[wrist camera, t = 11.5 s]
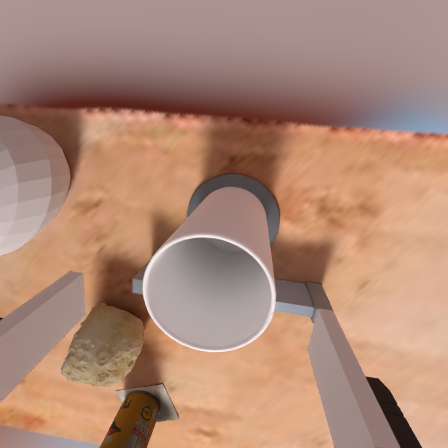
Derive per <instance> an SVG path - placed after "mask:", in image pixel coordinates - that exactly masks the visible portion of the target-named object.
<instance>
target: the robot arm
mask: <svg viewBox="0 0 448 448" xmlns="http://www.w3.org/2000/svg"><path fill="white" fill-rule="evenodd" d="M85 314H86V312H85V296H84V281H83V273H78V272H71V271H70V272H68V273H67V274H66V275H64V276H63V277H61V278H60V279H58V280H57V281H56V282H54V283H53V284H51V285H50V286H49V287H47V288H46V289H44V290H43V291H42V292H40V293H39V294H37V295H36V296H34V297H33V298H32V299H30V300H29V301H27V302H26V303H25V304H23V305H22V306H20V307H19V308H17V309H16V310H15V311H13V312H12V313H10V314H9V315H8V316H6V317H5V318H0V402H1V401H2V400H3V399H4V398H5V397H6V396H7V395H8V394H9V393H10V392H11V391H12V390H13V389H14V388H15V387H16V386H17V385H18V384H19V383H20V382H21V381H22V380H23V379H24V378H25V377H26V376H27V375H28V373H29V372H30V371H31V370H32V369H33V368H34V367H35V366H36V365H37V364H38V363H39V362H40V361H41V360H42V359H43V358H44V357H45V356H46V355H47V354H48V353H49V352H50V351H51V350H52V349H53V348H54V347H55V346H56V345H57V343H58V342H59V341H60V340H61V339H62V338H63V337H64V336H65V335H66V334H67V333H68V332H69V331H70V330H71V329H72V328H73V327H74V326H75V325H76V324H77V323H78V322H79V321H80V320H81V319H82V318H83V317H84V316H85ZM308 353H309V357H310V360H311V364H312V368H313V371H314V375H315V378H316V382H317V386H318V389H319V393H320V396H321V400H322V404H323V407H324V411H325V414H326V418H327V422H328V425H329V429H330V432H331V436H332V440H333V443H334V447H335V448H422V447H421V445H420V443H419V441H418V440H417V438H416V436H415V434H414V433H413V431H412V429H411V427H410V426H409V424H408V422H407V420H406V418H404V416H403V413H402V411H401V410H400V408H399V407H398V406H397V403H396V401H395V399H394V397H393V395H392V394H391V392H390V390H389V389H388V388H387V387H386V386H385V385H384V384H383V383H382V382H381V381H380V380H379V379H378V378H372V377H365V375H364V373H363V371H362V369H361V367H360V365H359V363H358V361H357V359H356V357H355V355H354V353H353V351H352V349H351V347H350V345H349V343H348V341H347V339H346V337H345V335H344V333H343V330H342V328H341V326H340V324H339V322H338V320H337V318H336V316H335V314H334V312H333V311H332V310H325V309H319V308H318V311H317V315H316V319H315V323H314V326H313V330H312V334H311V338H310V342H309V346H308Z"/></svg>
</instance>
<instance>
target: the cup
mask: <svg viewBox="0 0 448 448" xmlns="http://www.w3.org/2000/svg"><path fill="white" fill-rule="evenodd" d="M143 297H144V301H145V305H146V308H147V310H148V312H149V314H150V316H151V317H152V319H153V320H154V322H155V323H156V324H157V326H158V327H159V328H160V329H161V330H162V331H163V332H164V333H165V334H167V335H168V336H169V337H171V338H172V339H173V340H175V341H177V342H178V343H180V344H182V345H185V346H187V347H190V348H193V349H196V350H200V351H207V352H224V351H230V350H234V349H238V348H240V347H243V346H245V345H247V344H249V343H250V342H252V341H254V340H255V339H256V338H257V337H259V336H260V335H261V334H262V333H263V331H264V330H265V329H266V328H267V326H268V325H269V323H270V321H271V319H272V316H273V313H274V310H275V304H276V288H275V280H274V272H273V264H272V256H271V249H270V241H269V233H268V226H267V218H266V213H265V210H264V207H263V205H262V204H261V202H260V201H259V199H258V198H257V197H256V196H255V195H253V194H252V193H251V192H249V191H247V190H245V189H242V188H238V187H224V188H220V189H218V190H215V191H214V192H212V193H211V194H209V195H208V196H207V197H206V198H205V199H204V200H203V201H202V202H201V204H200V205H199V206H198V207H197V208H196V209H195V210H194V211H193V212H192V213H191V214H190V216H189V217H188V218H187V219H186V220H185V221H184V222H183V223H182V224H181V225H180V226H179V227H178V229H177V230H176V231H175V232H174V233H173V234H172V235H171V236H170V237H169V238H168V239H167V241H166V242H165V243H164V244H163V245H162V246H161V247H160V248H159V249H158V250H157V252H156V253H155V254H154V256H153V257H152V259H151V260H150V262H149V264H148V266H147V268H146V271H145V274H144V278H143Z"/></svg>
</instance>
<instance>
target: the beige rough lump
mask: <svg viewBox="0 0 448 448" xmlns="http://www.w3.org/2000/svg"><path fill="white" fill-rule="evenodd" d="M81 325H82V326H81V328H80V329H79V330H78V331H77V332H76V333H75V334H74V337H73V340H72V342H71V345H70V348H69V351H68V356H67V357H66V358H65V361H64V363H63V366H62V368H61V370H62V372H61V373H62V375H64V376H65V377H66V378H67V379H68V380H70V381H72V382H80V383H87V384H91V385H93V386H104V387H110V386H111V385H113V384H115V383H118V382H119V381H120V380H123V379H124V377H125V376H127V374H128V373H129V372H131V370H132V369H133V367H134V365H135V362H136V360H137V357H138V355H139V354H140V353H141V350H142V346H143V341H144V339H143V336H144V327H143V322H142V320H141V319H139V318H137V317H135V316H134V315H132V314H130V313H129V312H127V311H124V310H121V309H118V308H115V307H112V306H107V305H106V304H105V303H103V302H100V303H98V304H97V305H96V306H95V307H94V308H93V309H92V310H91V312H90V313H89V315H88V316H87V318H86V320H84V321H83V322H82V323H81Z"/></svg>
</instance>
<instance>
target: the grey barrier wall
mask: <svg viewBox="0 0 448 448" xmlns="http://www.w3.org/2000/svg"><path fill="white" fill-rule="evenodd" d="M151 259H152V258H151ZM151 259H150V260H151ZM150 260H149V261H148V262H147V264H146V265H145V266H144V267H143V268H142V269H141V270H140V271H139V272H138V273H137V274H136V276H135V277H134V278H133V293H137V294H143V278H144V274H145V271H146V268H147V266H148V264H149V262H150ZM274 280H275V288H276V304H275V310H274V311H278V312H284V313H290V314H296V315H302V316H308V317H311V320H312V323H315V319H316V315H317V311H318V308H319V309H325V310H332V311H333V309H332V307H331V305H330V302H329V300H328V298H327V296H326V294H325V291H324V289H323V287H322V285H321V284H319V283H312V282H306V284H305V283H298V282H292V281H286V280H279V279H274ZM333 312H334V311H333Z"/></svg>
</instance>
